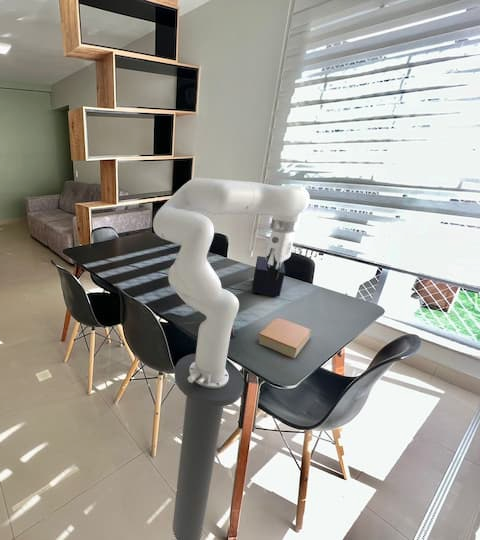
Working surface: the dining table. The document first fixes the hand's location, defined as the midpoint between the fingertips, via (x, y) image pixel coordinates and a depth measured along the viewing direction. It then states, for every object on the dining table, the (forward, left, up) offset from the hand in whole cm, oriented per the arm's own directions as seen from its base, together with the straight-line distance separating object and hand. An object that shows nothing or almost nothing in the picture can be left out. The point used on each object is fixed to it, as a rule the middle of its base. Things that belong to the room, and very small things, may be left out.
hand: (272, 278), depth 99 cm
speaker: (+53, +18, -28) cm, 62 cm away
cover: (+9, -6, -24) cm, 26 cm away
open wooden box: (+10, -6, -28) cm, 30 cm away
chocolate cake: (0, +13, -28) cm, 31 cm away
